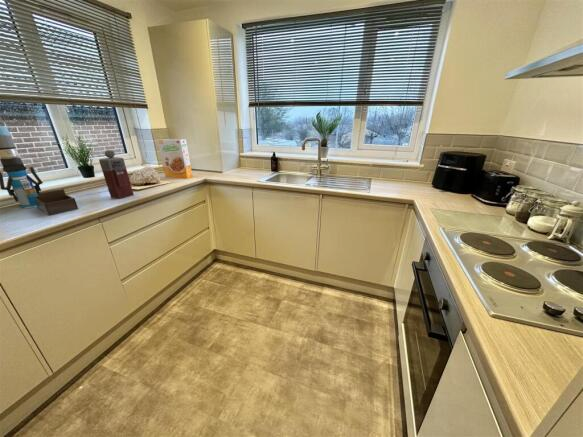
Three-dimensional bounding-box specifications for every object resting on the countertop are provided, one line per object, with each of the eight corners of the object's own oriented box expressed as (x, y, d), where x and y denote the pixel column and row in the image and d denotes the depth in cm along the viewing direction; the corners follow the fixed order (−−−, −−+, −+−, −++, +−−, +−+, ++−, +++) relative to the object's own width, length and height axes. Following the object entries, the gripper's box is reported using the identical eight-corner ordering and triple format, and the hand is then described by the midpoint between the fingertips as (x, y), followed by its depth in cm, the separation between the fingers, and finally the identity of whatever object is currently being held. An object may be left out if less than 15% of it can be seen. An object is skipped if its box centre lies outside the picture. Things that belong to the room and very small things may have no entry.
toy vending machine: (122, 199, 144) (107, 151, 133) (110, 197, 148) (95, 150, 137) (136, 195, 151) (123, 149, 141) (124, 193, 155) (111, 149, 145)
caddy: (37, 207, 132) (30, 191, 129) (65, 201, 141) (58, 186, 138) (49, 215, 120) (41, 197, 116) (78, 208, 129) (71, 191, 125)
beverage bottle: (18, 209, 129) (1, 173, 122) (24, 205, 136) (7, 170, 129) (40, 206, 134) (24, 171, 126) (44, 202, 140) (29, 168, 133)
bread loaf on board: (151, 179, 192) (154, 162, 184) (169, 194, 189) (174, 177, 181) (114, 186, 168) (117, 166, 160) (135, 203, 165) (139, 184, 157)
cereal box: (165, 177, 200) (157, 139, 189) (171, 175, 206) (163, 139, 195) (187, 178, 194) (180, 139, 182) (192, 176, 199) (185, 139, 188)
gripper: (-22, 160, 115) (1, 205, 123) (39, 155, 131) (55, 195, 139) (-23, 159, 119) (-1, 203, 127) (36, 154, 135) (52, 193, 143)
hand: (28, 198), depth 133 cm, fingers closed on beverage bottle, 8 cm apart
